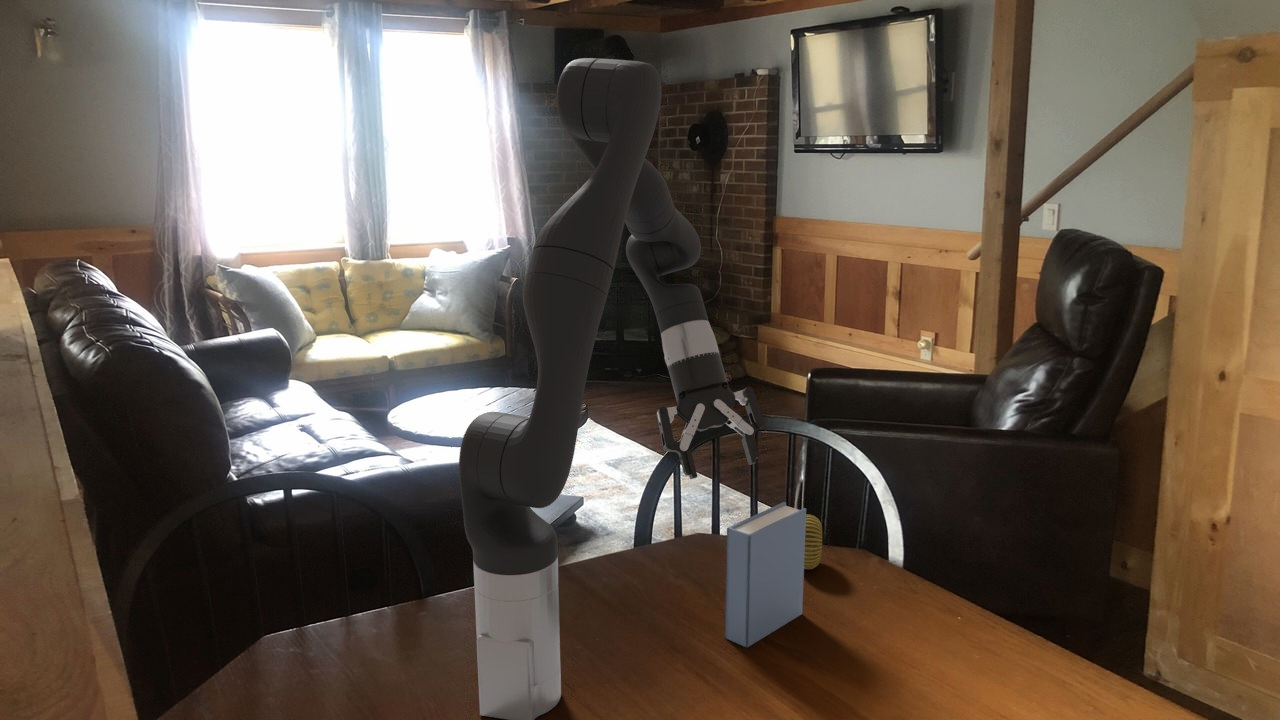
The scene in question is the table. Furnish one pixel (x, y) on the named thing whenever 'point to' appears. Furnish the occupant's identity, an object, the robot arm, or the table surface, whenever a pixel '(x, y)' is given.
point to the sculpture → (813, 542)
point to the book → (764, 573)
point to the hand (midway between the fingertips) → (723, 470)
